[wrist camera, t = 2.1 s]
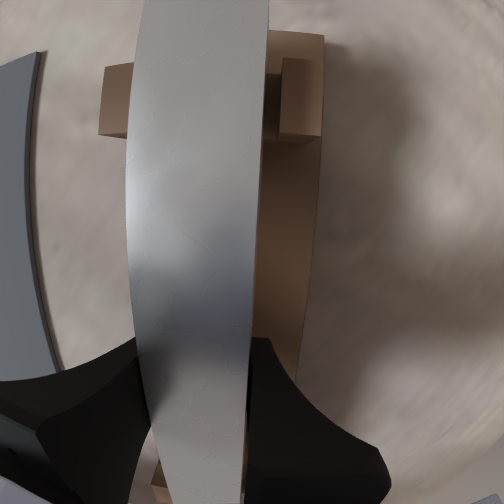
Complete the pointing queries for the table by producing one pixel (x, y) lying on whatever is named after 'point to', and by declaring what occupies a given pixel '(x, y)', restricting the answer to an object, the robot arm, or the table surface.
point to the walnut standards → (267, 191)
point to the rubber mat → (19, 233)
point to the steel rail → (196, 231)
